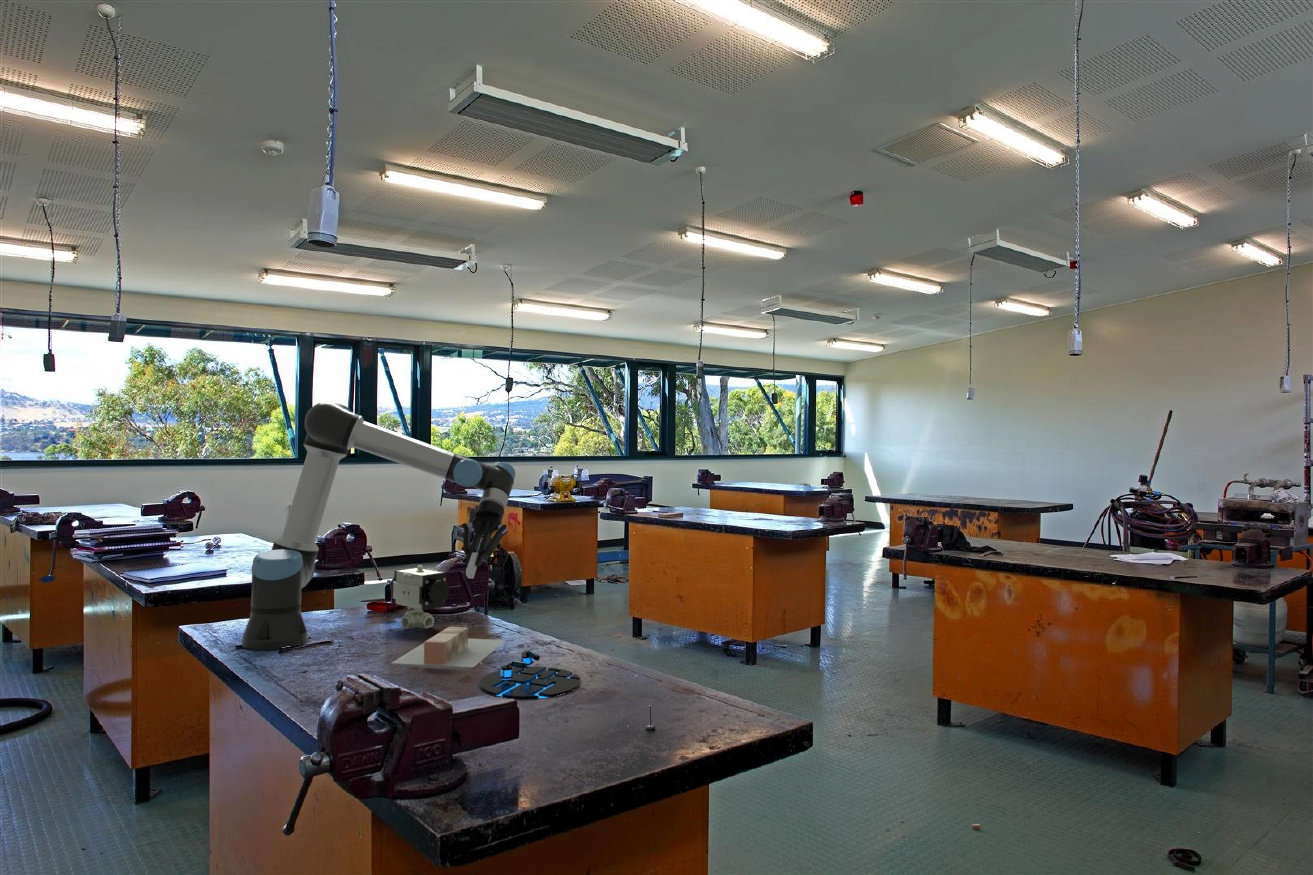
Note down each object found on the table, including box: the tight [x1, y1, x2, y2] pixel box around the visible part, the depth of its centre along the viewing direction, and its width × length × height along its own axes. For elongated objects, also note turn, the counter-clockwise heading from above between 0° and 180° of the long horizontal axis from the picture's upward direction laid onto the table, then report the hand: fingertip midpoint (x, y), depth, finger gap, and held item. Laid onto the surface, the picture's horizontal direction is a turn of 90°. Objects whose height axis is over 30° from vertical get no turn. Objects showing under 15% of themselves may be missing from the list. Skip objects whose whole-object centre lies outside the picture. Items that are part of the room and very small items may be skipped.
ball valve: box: [390, 564, 450, 630], centre depth 217 cm, size 18×8×18 cm, turn 55°
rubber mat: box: [390, 638, 506, 671], centre depth 191 cm, size 26×20×1 cm
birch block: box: [423, 626, 469, 664], centre depth 188 cm, size 5×5×16 cm
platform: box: [478, 649, 581, 701], centre depth 168 cm, size 22×22×6 cm
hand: (469, 575), depth 201 cm, fingers closed
